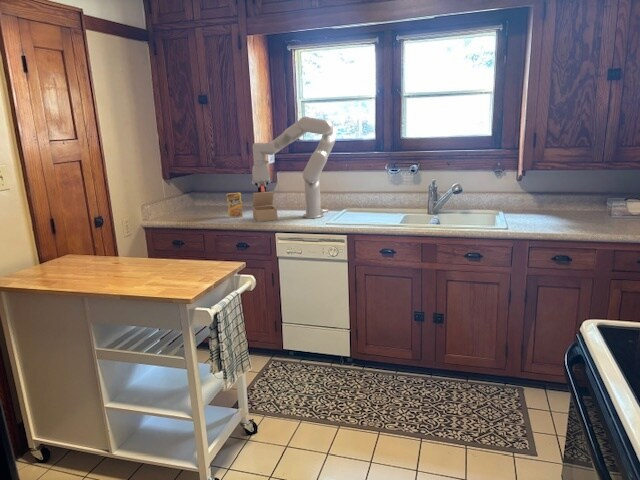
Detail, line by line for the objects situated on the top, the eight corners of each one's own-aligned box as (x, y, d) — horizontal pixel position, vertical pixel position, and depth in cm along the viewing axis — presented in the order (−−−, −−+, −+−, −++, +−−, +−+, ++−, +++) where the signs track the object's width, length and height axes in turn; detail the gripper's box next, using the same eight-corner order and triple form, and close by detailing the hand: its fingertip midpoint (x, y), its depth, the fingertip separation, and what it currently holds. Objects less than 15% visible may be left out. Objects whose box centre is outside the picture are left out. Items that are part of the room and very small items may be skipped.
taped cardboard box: (272, 205, 307) (270, 197, 312) (273, 191, 298) (271, 183, 302) (253, 206, 304) (251, 198, 308) (253, 192, 295) (251, 184, 299)
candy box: (229, 218, 309) (226, 194, 306) (228, 217, 313) (226, 193, 310) (242, 216, 312) (241, 193, 308) (241, 215, 316) (240, 192, 312)
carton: (273, 216, 309) (273, 205, 308) (277, 220, 298) (276, 208, 296) (253, 218, 306) (252, 207, 304) (256, 222, 294) (255, 210, 292)
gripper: (271, 162, 304) (273, 191, 308) (246, 163, 299) (248, 193, 304) (274, 162, 297) (276, 192, 301) (248, 164, 292) (250, 195, 297)
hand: (262, 192), depth 302 cm, fingers closed on taped cardboard box, 2 cm apart
